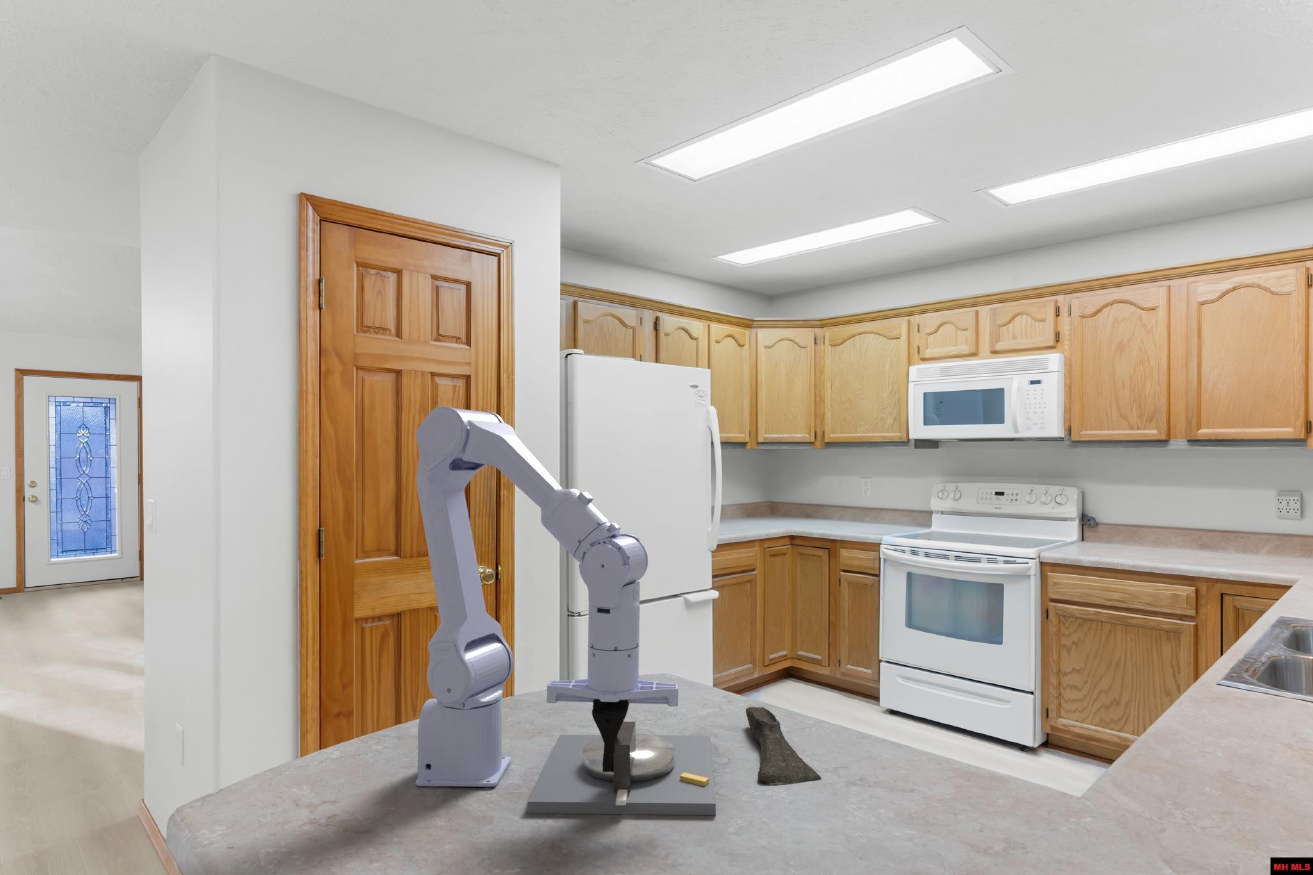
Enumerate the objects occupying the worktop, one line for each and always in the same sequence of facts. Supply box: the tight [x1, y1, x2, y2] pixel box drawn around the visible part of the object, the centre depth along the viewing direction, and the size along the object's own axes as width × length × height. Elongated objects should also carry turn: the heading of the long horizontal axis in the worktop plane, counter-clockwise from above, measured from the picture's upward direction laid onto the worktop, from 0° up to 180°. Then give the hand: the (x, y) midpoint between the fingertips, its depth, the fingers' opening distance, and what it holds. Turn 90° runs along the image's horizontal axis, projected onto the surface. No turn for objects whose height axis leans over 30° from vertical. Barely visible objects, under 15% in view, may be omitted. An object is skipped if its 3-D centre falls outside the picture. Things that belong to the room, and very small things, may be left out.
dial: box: [582, 720, 675, 792], centre depth 88 cm, size 14×11×5 cm
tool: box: [745, 706, 822, 786], centre depth 97 cm, size 21×8×3 cm, turn 6°
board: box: [527, 734, 717, 816], centre depth 89 cm, size 20×21×2 cm
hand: (611, 768), depth 83 cm, fingers closed, pressing on dial
